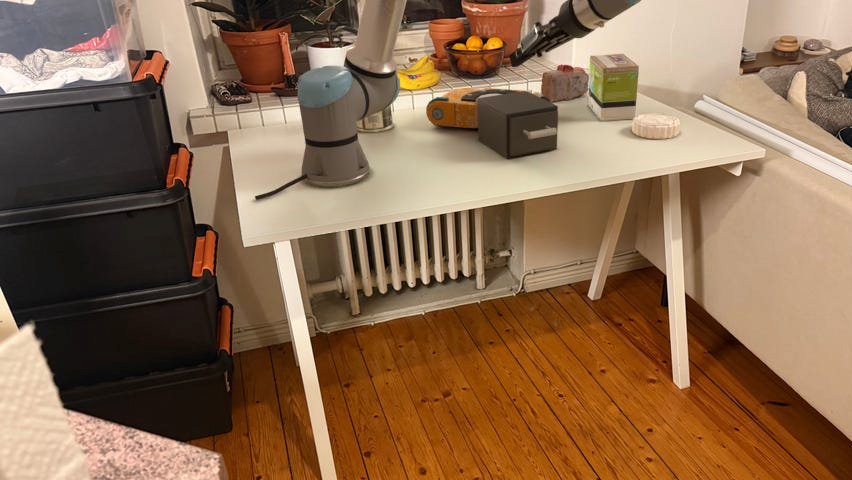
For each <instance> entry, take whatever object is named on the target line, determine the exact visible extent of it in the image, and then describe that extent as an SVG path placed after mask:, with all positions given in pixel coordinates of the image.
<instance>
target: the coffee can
mask: <svg viewBox="0 0 852 480" xmlns="http://www.w3.org/2000/svg"><path fill="white" fill-rule="evenodd" d="M356 123H357V131H358V132H363V133H379V132H380V133H381V132H385V131H387V130H390V129H392V128H393V127H394V123H393V114H392V104H391V105H390V106H388V107H387V108H386V109H385V110H383V111H380V112H378V113H375V114H373V115H371V116H368V117H366V118H364V119H361V120H359V121H357V122H356Z"/></svg>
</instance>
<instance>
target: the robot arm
mask: <svg viewBox="0 0 852 480" xmlns="http://www.w3.org/2000/svg"><path fill="white" fill-rule="evenodd" d="M363 1H364V2H363V5H362V10H361V16H360V21H359V24H358V29H357V34H356V38H355V43H354V46H351V47H349V48H348V49H347V50H346V53H345V56H344V62H343V66H342V65H324V66H322V67H315V68H312V69H310V70H308V71H305V72H304V73H302V74H301V75H300V77H299V78H298V79H297V83H296V86H297V102H298V106H299V112H300V118H301V119H300V120H301V124H302V131H303V136H304V144H305V147H304V152H303V158H302V164H301V176H298V177H296V178H295V179H293V180H290V181H288V182H287V183H285V184H283V185H282V186H279V187H278V188H276V189H274V190H271V191H268V192H265V193H261V194H258V195H254V199H255V200H256V201H258V200H262V199H266V198H269V197H272V196H275V195H276V194H279V193H281V192H283V191H284V190H286V189H288V188H290V187H292V186H294V185H296V184H298V183H300V182H302V181H303V182H304V183H305V184H307V185H309V186H311V187H316V188H327V189H329V188H342V187H347V186H351V185H356V184H358V183H360V182H363V181H364V180H366V179H367V178H368V177H369V176H370V174H371V168H370V163H369V160H368V157H366V154H365V152H364V150H363V147H362V145H361V143H360V141H359V131H358V130H357V123H356V122H357V121H359V120H361V119H364V118H366V117H368V116H371V115H373V114H375V113H378V112H380V111H383V110H385V109H386V108H387V107H388V106H390V105H391V106H392V105H393V104H394V102H396V100H397V98H398V97H399V94H400V89H401V79H400V77H399V75H398V73H399V72H398V70H397V68H398V63H397V62H396V60H395V58H394V52H395V50H396V49H395V48H396V44H397V40H398V36H399V33H400V28H401V24H402V21H403V17H404V12H405V9H406V5H407V0H363ZM641 1H642V0H566V1H564V2H563V3H562V4H561V5H560V7H559V11H558V14H557V15H556V16H554V17H553V18H551V19H549V20H548V22H547V23H546V24H543V23H541V21H536V22H535V23H534V25H533V27H532V28H531V29H530V31H529V32H528V33H526V34H525V36H524V37H523V38H521V40H519V44H520V47H518V48H517V49H516V50H514V51H513V52H511V53H510V54H508V57H509V60H510V64H511V68H518V67H519V66H521V65H523V64H524V63H526V62H528V61H529V60H530V59H532V58H533V57H535V56H536V57H537V58H542V57H543V53H550V52H551V51H553V50H555V49H557V48H559V47H561V46H563V45H565V44H567V43H569V42H571V41H573V40H574V39H583V38H584V37H586V36H588V35H589V34H591V33H593V32H594V31H596V29H598V28H601V29H602V28H604V27H605V24H606V23H608V22H610V21H611V20H613V19H614V18H616V17H617V16H619V15H621V14H622V13H624V12H626V11H627V10H629V9H631V8H633V7H634V6H635V5H637V4H639V3H641Z"/></svg>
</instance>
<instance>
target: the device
mask: <svg viewBox="0 0 852 480" xmlns="http://www.w3.org/2000/svg"><path fill="white" fill-rule="evenodd" d="M522 91H525V90H522V89H508V88H506V89H505V88H494V87H493V88H492V87H485V88H469V87H468V88H466V87H464V88H457V89H453V90H450V91H449V92H447V93H444V94H442V95H441V96H437V97H434V98H433V99H431V100H430V101H428V103H427V105H426V107H425V110H426V111H425V113H426V116H427V119H428V121H429V122H430V123H432V125H433V126H436V127H440V128H450V127H453V128H464V129H465V128H466V129H478V103H477V98H482V97H489V96H496V95H502V94H509V93H515V92H522ZM526 91H527V92H529V93H531V94H533V95H536V96H538V97H540V98H542V99H544V100H546V101H548V102H550V100H549V98H547V97H544V96H543V95H542V94H541V93H539V92H537V91H534V93H533V90H532V89H527V90H526ZM550 103H551V102H550Z"/></svg>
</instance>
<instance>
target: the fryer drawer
mask: <svg viewBox="0 0 852 480" xmlns="http://www.w3.org/2000/svg"><path fill="white" fill-rule="evenodd" d="M558 129H559V110H558V111H556V110H554V111H545V112H539V113H533V114H527V115H521V116H515V117H510V118H509V155H511V156H513V155H519V154H524V153H529V152H535V151H540V150H545V149H550V148H556V149H557V148H558V132H559V131H558Z"/></svg>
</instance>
